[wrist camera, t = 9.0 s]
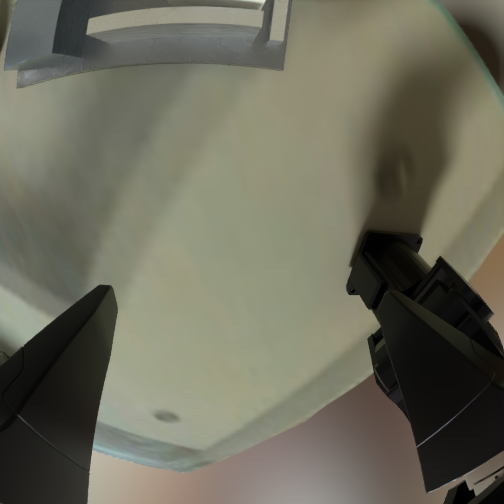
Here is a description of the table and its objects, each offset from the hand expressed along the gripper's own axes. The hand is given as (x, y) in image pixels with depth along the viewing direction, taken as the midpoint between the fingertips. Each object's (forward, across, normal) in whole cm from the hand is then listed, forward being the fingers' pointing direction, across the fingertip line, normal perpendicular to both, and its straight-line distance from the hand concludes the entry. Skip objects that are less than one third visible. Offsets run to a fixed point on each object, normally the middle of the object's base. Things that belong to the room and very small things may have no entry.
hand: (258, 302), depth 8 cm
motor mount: (+12, +7, -14) cm, 20 cm away
